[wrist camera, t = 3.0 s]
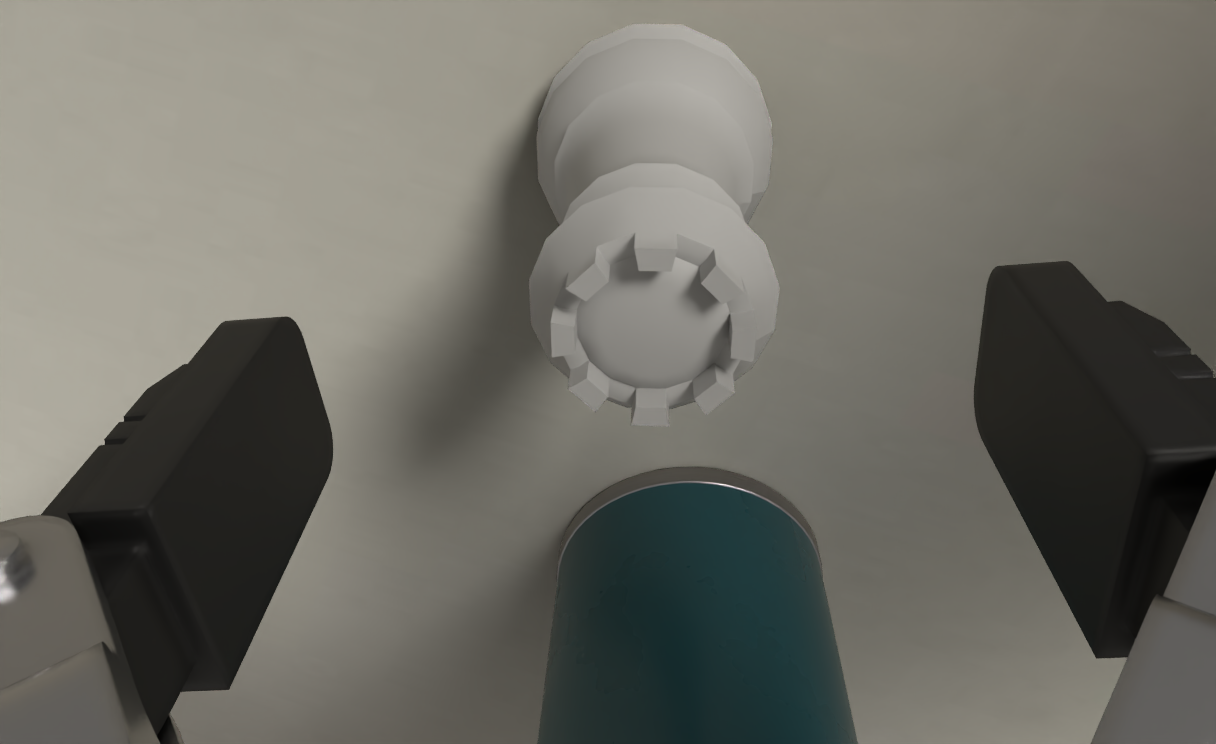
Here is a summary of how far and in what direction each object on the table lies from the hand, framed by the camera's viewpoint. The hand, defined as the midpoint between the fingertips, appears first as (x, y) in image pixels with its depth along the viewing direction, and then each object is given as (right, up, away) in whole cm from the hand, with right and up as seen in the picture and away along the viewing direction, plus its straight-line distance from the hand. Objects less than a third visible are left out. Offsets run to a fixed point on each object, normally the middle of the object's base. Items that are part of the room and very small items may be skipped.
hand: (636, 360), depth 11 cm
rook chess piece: (+1, +5, +7) cm, 9 cm away
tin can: (+2, -5, +13) cm, 14 cm away
